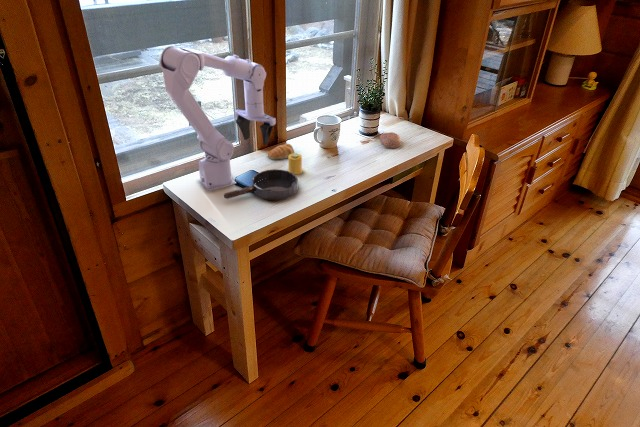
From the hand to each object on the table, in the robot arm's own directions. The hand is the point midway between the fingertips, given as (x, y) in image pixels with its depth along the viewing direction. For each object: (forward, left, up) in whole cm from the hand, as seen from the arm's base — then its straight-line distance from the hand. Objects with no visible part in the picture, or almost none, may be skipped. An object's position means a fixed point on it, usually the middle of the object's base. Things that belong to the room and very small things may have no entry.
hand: (256, 141), depth 156 cm
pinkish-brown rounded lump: (+51, -8, -10) cm, 53 cm away
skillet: (-2, -17, -9) cm, 19 cm away
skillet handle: (-13, -17, -8) cm, 23 cm away
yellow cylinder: (+9, -10, -9) cm, 16 cm away
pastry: (+11, +3, -10) cm, 15 cm away
